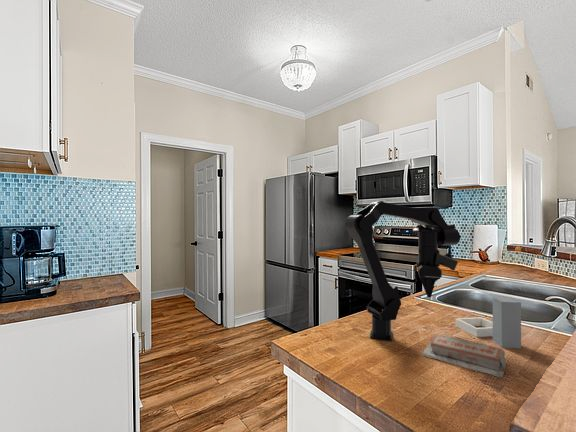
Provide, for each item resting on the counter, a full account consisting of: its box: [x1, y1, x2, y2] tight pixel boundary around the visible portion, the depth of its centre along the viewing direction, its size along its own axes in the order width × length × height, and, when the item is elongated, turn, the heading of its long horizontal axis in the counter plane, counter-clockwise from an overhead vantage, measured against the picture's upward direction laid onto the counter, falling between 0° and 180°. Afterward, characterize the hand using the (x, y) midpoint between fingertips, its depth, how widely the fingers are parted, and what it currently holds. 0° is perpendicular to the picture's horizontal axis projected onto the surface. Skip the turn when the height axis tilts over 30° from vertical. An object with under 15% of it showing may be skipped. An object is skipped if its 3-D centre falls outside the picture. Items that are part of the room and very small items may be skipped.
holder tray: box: [455, 316, 493, 338], centre depth 99 cm, size 10×10×2 cm
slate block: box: [492, 296, 522, 349], centre depth 89 cm, size 5×5×13 cm
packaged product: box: [421, 333, 508, 378], centre depth 80 cm, size 18×5×10 cm
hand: (428, 293), depth 100 cm, fingers open, 9 cm apart
